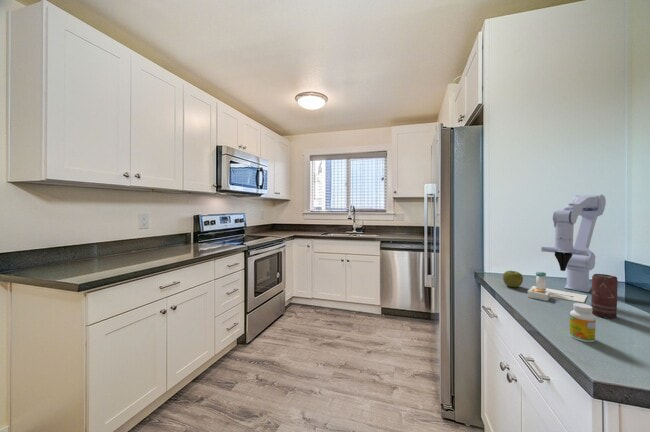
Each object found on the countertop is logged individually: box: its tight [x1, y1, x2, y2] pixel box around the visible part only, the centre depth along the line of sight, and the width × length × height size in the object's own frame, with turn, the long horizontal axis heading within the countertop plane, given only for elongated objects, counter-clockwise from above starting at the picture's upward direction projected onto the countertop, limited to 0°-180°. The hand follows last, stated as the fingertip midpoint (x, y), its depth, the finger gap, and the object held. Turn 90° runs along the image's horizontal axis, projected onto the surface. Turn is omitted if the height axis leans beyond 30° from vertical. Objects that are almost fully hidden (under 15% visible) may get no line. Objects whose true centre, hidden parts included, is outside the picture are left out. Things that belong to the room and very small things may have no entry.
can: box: [590, 273, 619, 320], centre depth 91 cm, size 6×6×14 cm
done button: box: [534, 289, 545, 294], centre depth 110 cm, size 4×4×2 cm
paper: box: [526, 285, 588, 304], centre depth 113 cm, size 11×18×1 cm, turn 40°
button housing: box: [527, 287, 552, 302], centre depth 110 cm, size 6×6×2 cm
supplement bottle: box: [569, 302, 597, 343], centre depth 77 cm, size 5×5×10 cm
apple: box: [502, 270, 524, 288], centre depth 124 cm, size 8×8×7 cm
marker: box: [535, 271, 547, 290], centre depth 117 cm, size 3×3×8 cm
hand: (563, 270), depth 112 cm, fingers closed
